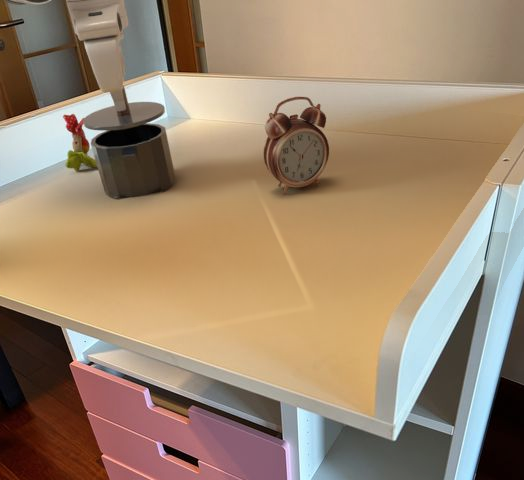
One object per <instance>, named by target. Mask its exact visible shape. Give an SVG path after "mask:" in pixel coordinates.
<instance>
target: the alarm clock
mask: <svg viewBox="0 0 524 480" xmlns="http://www.w3.org/2000/svg"><path fill="white" fill-rule="evenodd" d="M297 100H305V101H308V103H309V105H310V106H309V107H306V108H305V109H304V110H303V111H302V112H301V114H300V116H299V114H292V115H289V116H288V115H287V114H286V113H283V112H279V109H280V108H281V106H283V105H284V104H286V103H290V102H293V101H297ZM321 105H322V104H320V103H318V104H316V105H314V103H313V102H312V100H311V99H310V98H309V97H307V96H294V97H289V98H286V99H284V100H282V101H280V102H279V103H277V105H276V108H275V110H274V112H273V113H272V112H269V113H268V119H267V120H266V122H265V125H264V129H265V134H266V135H267V138H266V139H265V143H264V146H263V160H264V165H265V166H266V169H267V170H268V172H269V173H270V174H271V176H272V177H274V179H276V181H278V182H279V184H278V188H281V187H282V184H283V185H285V186H284V189H283V191H282V194H283V195H286V194H287V191H288V189H289V187H291V188H303V187H306V186H309V185H310V184H312V183H314V182H315V184H316V186H317V187H319V186H320V185H321V183H320V182H319V181H318V178H319V177H321V175H322V174H323V172H324V170H325V169H326V167H327V164H328V161H329V157H330V146H329V141H328V139H327V137H326V135H325V134H324V132H323V131H322V130H321V129H320V128H322V129H325V127H326V123H327V117H326V116H327V115H326V114H325V112H323V110H322V109H321Z"/></svg>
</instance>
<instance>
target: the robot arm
mask: <svg viewBox="0 0 524 480" xmlns="http://www.w3.org/2000/svg"><path fill="white" fill-rule="evenodd" d="M2 1H3V2H5V3H7V4H10V5H15V6H25V5H44V4H48V3H50V2H51V1H52V0H2ZM65 1H66V6H67V10H68V13H69V17H70V21H71V25H72V27H73V32H74V34H75V35H77V38H78V40H79V41H80V42H81V41H83V44H84V49H85V51H86V54H87V57H88V60H89V63H90V66H91V69H92V73H93V75H94V77H95V80H96V82H97V85H98V87H99V89H100V92H102V93H104V94H105V93H109V94H110V96H111V99H112V101H113V106H115V109H116V111H118V112H119V111H124V110H126V104H125V100H124V96H123V91H122V89H123V86H124V87H125V73H126V71H125V70H126V61H125V57H124V53H123V48H122V45H121V41H122V40H123V39H124V38H125V36H124V31H123V30H124V29H127V28H128V27H129V25H130V23H129V19H128V13H127V9H126V6H125V1H124V0H65Z"/></svg>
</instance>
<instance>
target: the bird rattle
mask: <svg viewBox="0 0 524 480" xmlns="http://www.w3.org/2000/svg"><path fill="white" fill-rule="evenodd" d="M62 118H63V119H64V122H65V123H66V124H65V129H66V130H67V131H68V132H70V133H71V137H72V149H73V150H68V151H67V160H66V161H65V167H66V168H67V169H73V170H74V171H75V172H79V171H80V169H81V166H82V165H85V166H88V167H91V168H95V167H97V164H96V160H95V158H93V157H91V156H90V155H88V153H89V151H90V149H91V148H90V147H91V144H90V142H89V140H88V139H87V138H86V134H85V131H84V129H83V126H84V124H83V119H84V118H85V117H81V120H80V121H78V119H77V117H76V114H74V113H71V114H63V116H62Z"/></svg>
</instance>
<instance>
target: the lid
mask: <svg viewBox="0 0 524 480" xmlns="http://www.w3.org/2000/svg"><path fill="white" fill-rule="evenodd" d="M122 91H123V96H124V100H125V104H126V110H124V111H119V112H118V111H116V109H115V105H112V106H108V107H107V106H106V107H104V108H101V109H98V110H96V111H93V112H91V113H90V114H88V115H86V116H85V117H83V118H84V119H83V127H84V128H86V129H88V130H93V131H102V132H105V131H107V130H122V129H128V128H133V127H137V126H140V125H143V124H146V123H151V122H153V121H156V120H157V119H159V118H161V117H162V116H164V114H165V113H166V108H165V106H164V104H162V103H160V102H153V101H135V102H133V101H132V102H129V100H128V96H127V92H126V88H125V85H124V86H123V89H122Z"/></svg>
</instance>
